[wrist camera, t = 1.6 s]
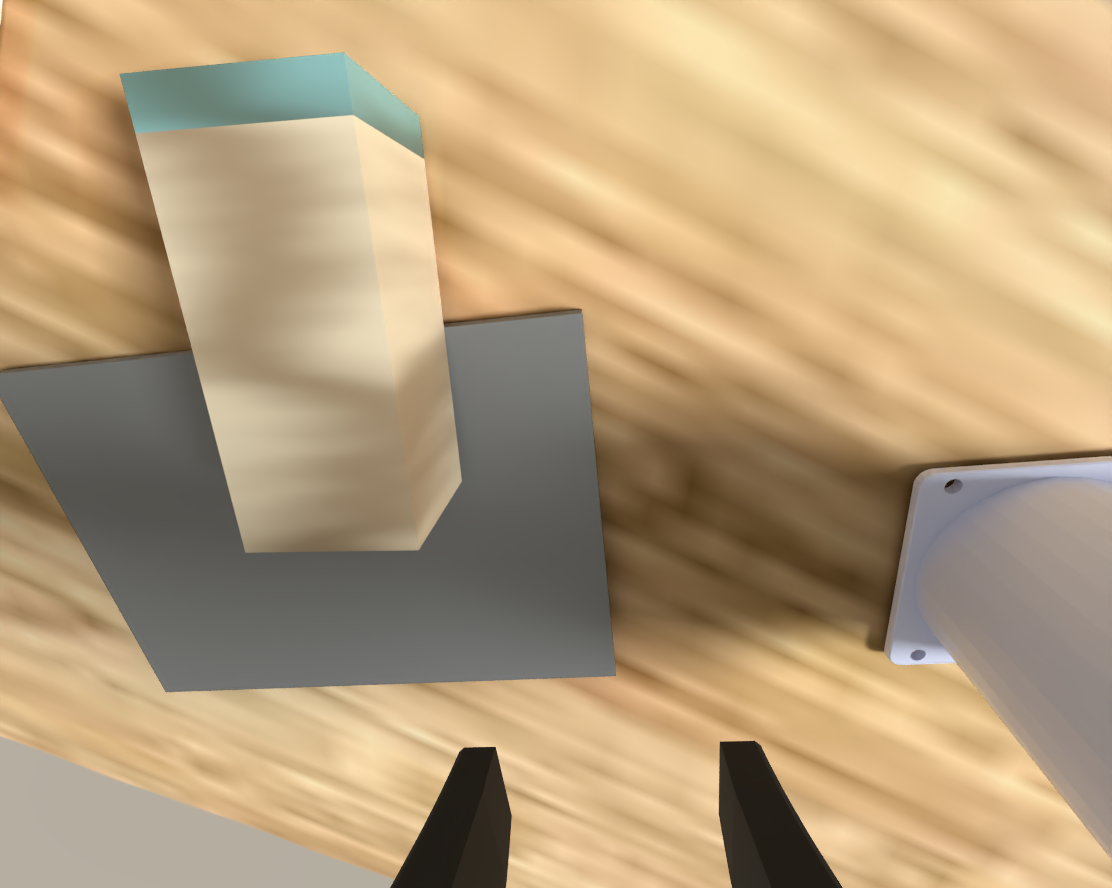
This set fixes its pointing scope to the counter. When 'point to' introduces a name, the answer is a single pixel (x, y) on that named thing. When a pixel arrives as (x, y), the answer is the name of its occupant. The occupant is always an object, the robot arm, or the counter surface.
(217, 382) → the tall block
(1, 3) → the bracket
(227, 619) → the mat
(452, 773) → the robot arm
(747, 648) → the counter surface
